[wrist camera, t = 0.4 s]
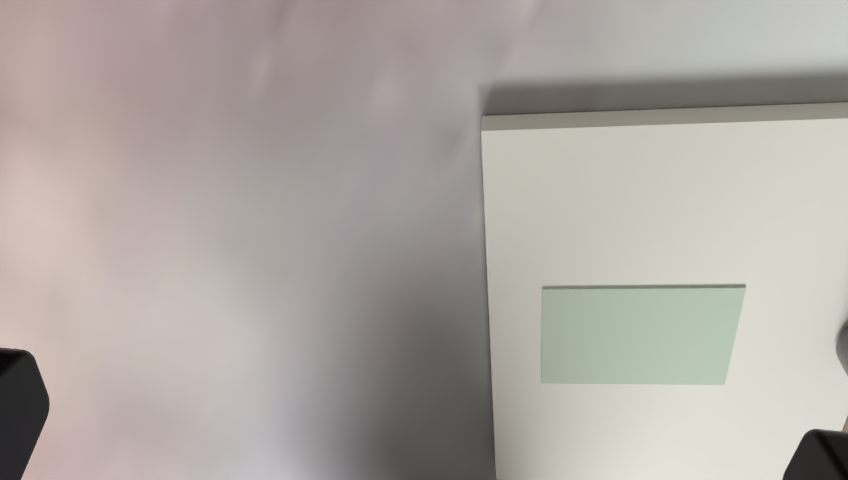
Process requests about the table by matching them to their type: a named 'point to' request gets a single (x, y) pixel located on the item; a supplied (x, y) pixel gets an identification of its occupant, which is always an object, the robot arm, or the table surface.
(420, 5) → the table surface
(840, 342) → the bar
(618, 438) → the board
